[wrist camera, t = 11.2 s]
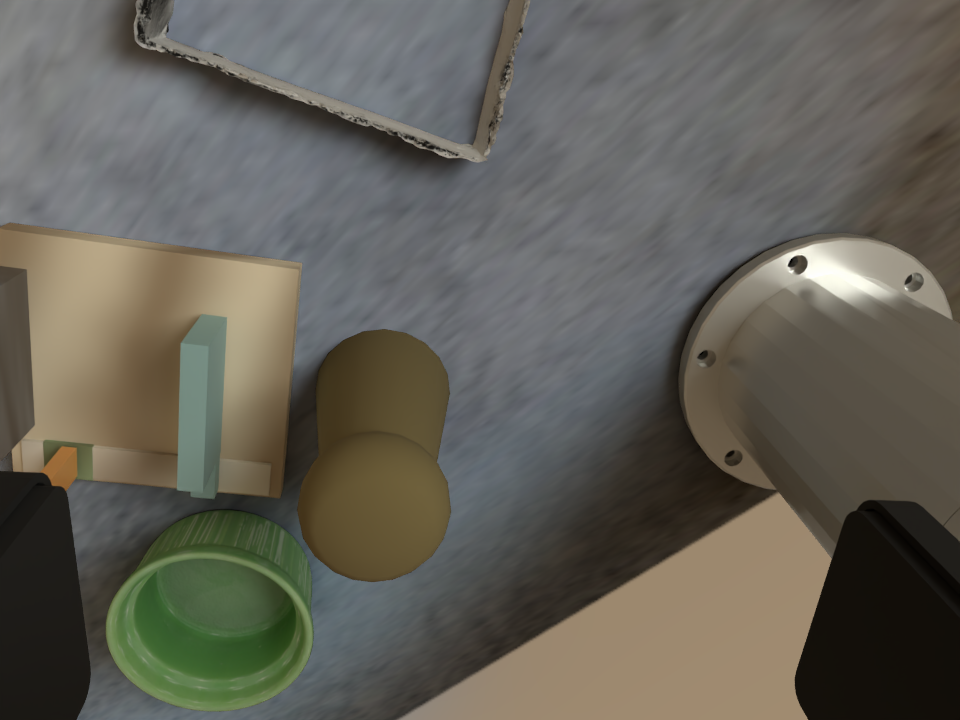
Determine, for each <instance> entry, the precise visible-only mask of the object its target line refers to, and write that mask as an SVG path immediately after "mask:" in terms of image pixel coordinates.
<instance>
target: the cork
mask: <svg viewBox="0 0 960 720" xmlns="http://www.w3.org/2000/svg"><path fill="white" fill-rule="evenodd" d="M449 395H450V391H449V382H448V374H447V372H446V370H445V368H444V366H443V364H442V362H441V360H440V358H439V357H438V356H437V355H436V354H435V353H434V352H433V351H432V350H431V349H430V348H429V347H428V346H427V345H426V344H425V343H424V342H422V341H420V340H418V339H416V338H414V337H413V336H411V335H409V334H407V333H403V332H397V331H392V330H386V329H382V330H373V331H364V332H361V333H359V334H357V335H354V336H352V337H350V338H347V339H345V340H343V341H342V342H341V343H340V344H339V345H338V346H336V347H335V348H334V349H333V350H332V351H331V352H330V353H329V354H328V355H327V357H326V359H325V360H324V362H323V364H322V366H321V368H320V369H319V371H318V378H317V384H316V410H317V430H318V450H319V456H318V458H317V459H316V460H315V461H314V462H313V464H312V466H311V468H310V469H309V471H308V473H307V474H306V476H305V478H304V479H303V482H302V486H301V490H300V496H299V502H298V508H297V511H298V516H299V521H300V526H301V530H302V535H303V539H304V540H305V542H306V543H307V545H308V547H309V548H310V550H311V551H312V553H313V554H314V556H315V557H317V558H318V559H319V560H320V561H321V562H322V563H324V564H325V565H326V566H327V567H329V568H330V569H331V570H332V571H334V572H335V573H338V574H340V575H343V576H345V577H348V578H350V579H352V580H360V581H368V582H378V581H385V580H393V579H395V578H398V577H400V576H403V575H405V574H408V573H410V572H412V571H413V570H415V569H416V568H417V567H419V566H420V565H421V564H422V563H424V562H425V561H426V560H427V559H429V558H430V557H431V556H432V555H433V554H434V552H435V551H436V549H437V548H438V546H439V545H440V543H441V542H442V540H443V539H444V536H445V533H446V529H447V525H448V522H449V518H450V514H451V507H450V498H449V490H448V482H447V480H446V478H445V476H444V475H443V473H442V471H441V469H440V467H439V465H438V463H437V459H438V453H439V448H440V443H441V437H442V432H443V427H444V421H445V416H446V411H447V405H448V400H449Z"/></svg>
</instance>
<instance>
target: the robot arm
mask: <svg viewBox="0 0 960 720" xmlns="http://www.w3.org/2000/svg"><path fill="white" fill-rule="evenodd" d="M791 258H793V261H792V262H791V263H790V264H788V263H789V261H790V260H791ZM704 350H705V351H704ZM702 351H704V353H703V354H702V355H701V356H698V355H699V354H700V353H701V352H702ZM678 384H679V399H680V405H681V408H682V411H683V415H684V418H685V422H686V424H687V426H688V428H689V429H690V431H691V433H692V435H693V436H694V438H695V440H696V442H697V443H698V444H699V446H700V447H701V448H702V449H703V451H704V452H705V453H706V455H707V456H708V457H709V459H711V460H712V461H713V462H714V463H715V464H716V465H717V466H718V467H719V468H720V469H722V470H723V471H724V472H726V473H728V474H730V475H732V476H733V477H735V478H737V479H739V480H741V481H743V482H745V483H748V484H751V485H755V486H758V487H761V488H765V489H773V490H778V492H779V493H780V494H781V495H782V497H783V498H784V499H785V500H786V502H787V503H788V504H789V505H790V507H791V508H792V509H793V510H794V512H795V513H796V514H797V515H798V517H799V518H800V519H801V520H802V522H803V523H804V524H805V525H806V527H807V528H808V529H809V530H810V532H811V533H812V534H813V535H814V537H815V538H816V539H817V540H818V542H819V543H820V544H821V546H822V547H823V548H824V549H825V550H826V552H827V553H828V554H829V555H830V557H831V558H832V560H831V564H830V567H829V570H828V573H827V576H826V579H825V582H824V586H823V589H822V592H821V595H820V598H819V602H818V605H817V608H816V611H815V614H814V617H813V620H812V623H811V626H810V630H809V633H808V636H807V639H806V642H805V645H804V648H803V652H802V655H801V658H800V661H799V664H798V667H797V671H796V675H795V689H796V695H797V699H798V701H799V704H800V706H801V707H802V709H803V711H804V713H805V715H806V716H807V718H808V720H960V324H959V323H957V322H955V321H953V320H952V312H951V310H950V307H949V304H948V301H947V299H946V296H945V293H944V291H943V289H942V288H941V286H940V285H939V283H938V282H937V280H936V279H935V278H934V276H933V275H932V273H931V272H930V271H929V270H928V269H927V268H926V267H925V266H923V265H922V264H921V263H920V262H919V261H918V260H917V259H916V258H914V257H913V256H911V255H909V254H908V253H906V252H904V251H902V250H900V249H898V248H896V247H894V246H893V245H890V244H887V243H885V242H882V241H880V240H877V239H874V238H872V237H868V236H861V235H855V234H849V233H832V234H817V235H812V236H808V237H804V238H800V239H795V240H791V241H789V242H787V243H784V244H782V245H779V246H777V247H775V248H772V249H770V250H768V251H765V252H764V253H762V254H761V255H759V256H758V257H756V258H754V259H753V260H751V261H750V262H748V263H747V264H745V265H743V266H742V267H741V268H739V269H738V270H737V271H736V272H735V273H734V274H733V275H732V276H730V277H729V278H728V279H727V280H726V281H725V282H724V283H723V284H722V285H720V287H719V288H718V289H717V290H716V292H715V293H714V294H713V295H712V297H711V298H710V299H709V300H708V302H707V303H706V304H705V305H704V306H703V308H702V310H701V311H700V313H699V315H698V317H697V319H696V320H695V322H694V324H693V326H692V328H691V329H690V331H689V334H688V337H687V340H686V343H685V346H684V349H683V352H682V355H681V362H680V369H679V377H678ZM90 676H91V671H90V661H89V653H88V646H87V638H86V631H85V623H84V615H83V608H82V600H81V593H80V585H79V578H78V570H77V563H76V555H75V548H74V540H73V533H72V525H71V518H70V510H69V502H68V497H67V493H66V491H65V489H64V488H63V487H61V486H52V484H51V481H50V479H49V477H48V475H46V474H44V473H39V472H9V471H0V720H77V718H78V716H79V713H80V711H81V709H82V707H83V705H84V703H85V700H86V697H87V694H88V690H89V685H90Z"/></svg>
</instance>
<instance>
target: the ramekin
mask: <svg viewBox="0 0 960 720" xmlns="http://www.w3.org/2000/svg"><path fill="white" fill-rule="evenodd" d="M311 597H312V575H311V570H310V566H309V562H308V560H307V557H306V555H305V553H304V551H303V550H302V548H301V546H300V545H299V544H298V542H297V541H296V540H295V539H294V538H293V537H292V536H291V535H290V534H289V533H288V532H287V531H286V530H285V529H283V528H282V527H280V526H279V525H277V524H275V523H274V522H272V521H270V520H268V519H266V518H264V517H261V516H258V515H255V514H251V513H247V512H243V511H235V510H215V511H206V512H203V513H198V514H195V515H192V516H189V517H186V518H184V519H182V520H180V521H178V522H176V523H174V524H173V525H172V526H170V527H169V528H167V529H166V530H165V531H164V532H163V533H162V534H161V535H160V536H159V537H158V538H157V539H156V540H155V542H154V543H153V544H152V545H151V547H150V548H149V550H148V551H147V553H146V554H145V556H144V558H143V559H142V561H141V562H140V564H139V566H138V567H137V569H136V570H135V571H134V572H133V573H132V574H131V575H130V576H129V577H128V578H127V579H126V580H125V582H124V583H123V584H122V586H121V587H120V589H119V590H118V591H117V593H116V595H115V596H114V598H113V600H112V602H111V605H110V607H109V610H108V614H107V618H106V628H105V630H106V639H107V644H108V648H109V651H110V653H111V655H112V657H113V659H114V661H115V663H116V665H117V666H118V668H119V669H120V670H121V671H122V673H123V674H124V675H125V676H126V677H127V678H128V679H129V680H130V681H131V682H132V683H133V684H134V685H136V686H137V687H138V688H140V689H141V690H143V691H144V692H146V693H147V694H149V695H151V696H153V697H155V698H157V699H159V700H161V701H164V702H167V703H169V704H171V705H175V706H178V707H182V708H186V709H191V710H199V711H231V710H237V709H241V708H247V707H250V706H253V705H256V704H259V703H262V702H264V701H266V700H269V699H271V698H272V697H274V696H276V695H277V694H279V693H280V692H282V691H283V690H284V689H286V688H287V687H288V686H289V685H290V684H291V683H292V682H293V681H294V680H295V679H296V678H297V677H298V676H299V675H300V673H301V672H302V670H303V669H304V667H305V665H306V664H307V661H308V659H309V656H310V654H311V650H312V645H313V634H314V631H313V620H312V615H311Z"/></svg>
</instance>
